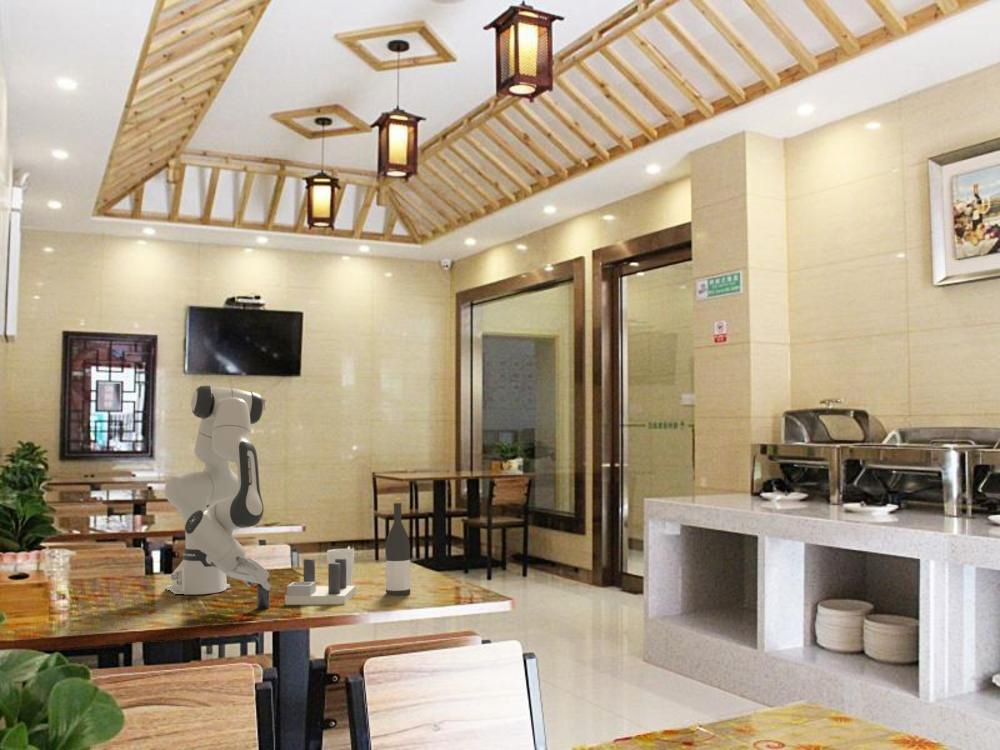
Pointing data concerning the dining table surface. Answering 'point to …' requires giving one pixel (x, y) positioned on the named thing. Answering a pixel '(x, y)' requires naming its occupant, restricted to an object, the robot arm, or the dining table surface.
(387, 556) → the wine bottle
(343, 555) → the cup
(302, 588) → the white board with pegs
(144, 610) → the dining table surface
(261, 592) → the dark rounded cylinder
